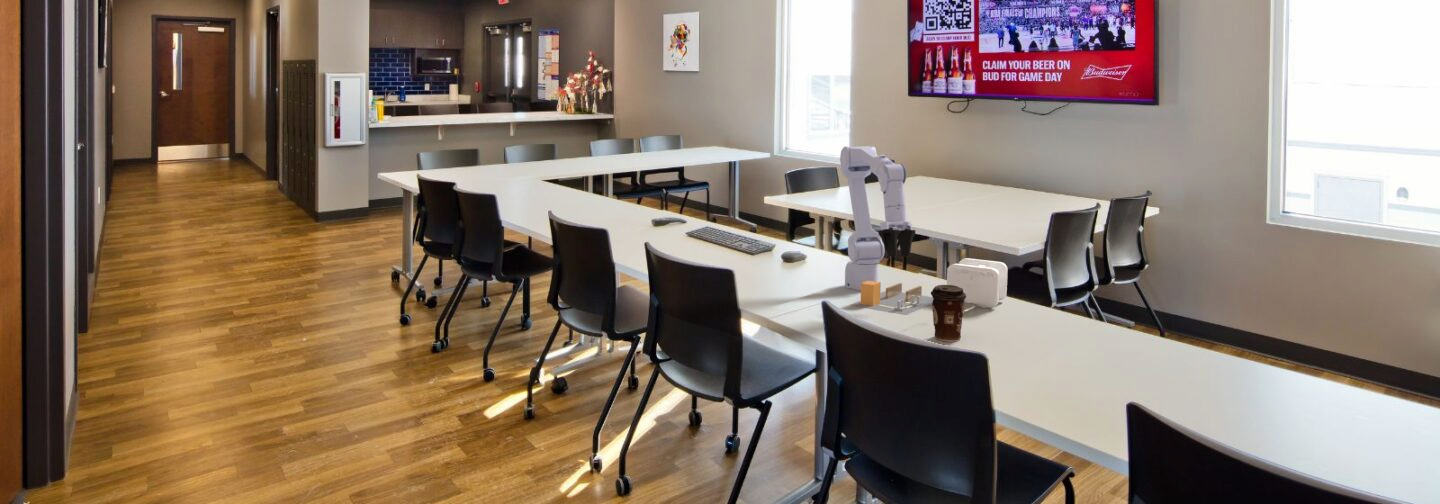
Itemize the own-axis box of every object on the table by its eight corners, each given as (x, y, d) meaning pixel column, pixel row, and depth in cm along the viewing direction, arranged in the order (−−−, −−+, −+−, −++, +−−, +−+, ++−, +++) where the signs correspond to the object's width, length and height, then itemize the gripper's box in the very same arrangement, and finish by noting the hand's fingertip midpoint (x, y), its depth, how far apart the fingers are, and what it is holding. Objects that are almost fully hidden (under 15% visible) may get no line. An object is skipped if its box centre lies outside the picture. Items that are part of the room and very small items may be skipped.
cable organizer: (1009, 302, 265) (1011, 262, 262) (995, 310, 257) (997, 269, 254) (959, 295, 274) (960, 257, 271) (944, 303, 266) (945, 263, 263)
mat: (848, 308, 261) (849, 296, 260) (887, 293, 278) (887, 281, 277) (906, 318, 250) (906, 305, 249) (943, 302, 266) (943, 289, 266)
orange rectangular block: (860, 303, 262) (860, 283, 261) (867, 301, 265) (868, 280, 264) (873, 306, 259) (873, 285, 258) (880, 303, 262) (880, 282, 261)
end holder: (885, 298, 268) (885, 288, 267) (899, 292, 274) (899, 283, 273) (908, 301, 263) (908, 291, 263) (921, 296, 269) (921, 286, 269)
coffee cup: (924, 340, 229) (926, 289, 227) (933, 332, 236) (935, 282, 234) (960, 344, 225) (962, 292, 223) (968, 336, 232) (970, 285, 230)
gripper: (895, 204, 248) (899, 254, 247) (920, 206, 259) (924, 254, 258) (872, 207, 253) (876, 257, 252) (897, 210, 264) (902, 257, 263)
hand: (899, 256), depth 255 cm, fingers open, 7 cm apart
